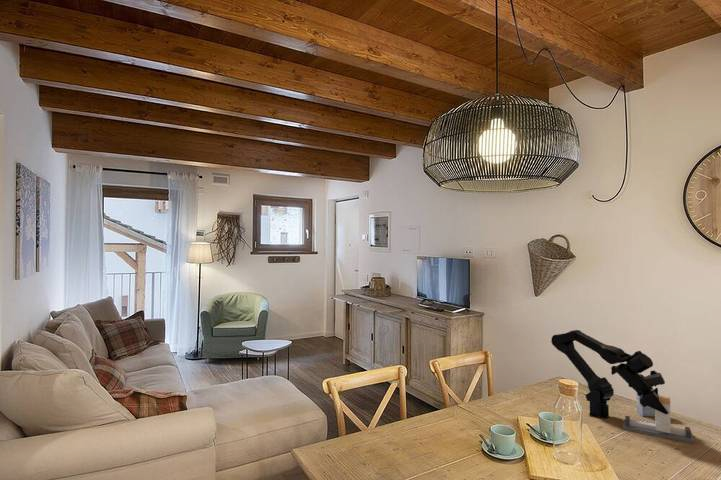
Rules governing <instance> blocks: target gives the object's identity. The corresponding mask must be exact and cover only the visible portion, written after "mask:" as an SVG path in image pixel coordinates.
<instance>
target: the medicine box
mask: <svg viewBox="0 0 721 480" xmlns="http://www.w3.org/2000/svg"><path fill="white" fill-rule="evenodd" d="M658 395H659V394H658ZM641 396H642V395H641ZM659 396H661V395H659ZM636 413H637V414H639V415H640V416H641V417H655V409H653V408H651V407H649V406H646V407H643V406H642V405H641V404H640V397H639V396H638V395H637V394H636Z"/></svg>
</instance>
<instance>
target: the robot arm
mask: <svg viewBox="0 0 721 480" xmlns="http://www.w3.org/2000/svg"><path fill="white" fill-rule="evenodd" d="M550 340H551V341H550V342H551V344H552V346H553V347H554V348H555V349H556V350H558V351H559V352H561V353H563V354H564V355H565V356H566V357H567V358H568V360H569V361H570V362H571V364H572V365H573V367H575V369H577V371H578V372H579V374H580V375H581V376H582V377H583V379H584V380H585V382H586V383H587V387H588V390H589V392H588V393H586V395H585V398H586V401H587V402H589V414H588V416H590V417H595V418H600V419H604V420H607V419H608V417H609V416H610V412H609V409H610V407H609V406H610V405H609V404H608V401H610V400H611V398H612V397H613V396H614V394H615V393H614V391H615V390H614V388H613V385H612V383H610V382H609V381H608V379H607V378H606V377H605V376H604V377H600V376H598V375H597V374H596V373H595V371H594V370H593V369H592V368H591V366H590V365H589V364H588V363H587V361H586V360H585V359H584V358H583V357H582V355H581V354H580V353H579V352H578V350H577V349H576V347H575V343H574V341H575V342H577V343H579V344H581V345H583V347H586V348H587V349H590V350H591V351H593V352H595V353H597V355H599V357H601V359H602V360H604V361H605V362H607V363H608V364H610V365H612V366H611V367H610V370H611V372H610V373H611V374H610V375H612V376H614V375H615V374H618V376H619V377H621V378H622V379H623V380H624V381H625V382H626V383H627V384H628V387H629V388H632V389H633V391H635V392H636V396H637V395H638V396H639V397H640V404H641V405H642V406H643V407H646V406H649V407H651V408H653V409H655V410H658V411H660V412H662V413H664V414H666V415H667V414H668V411H667V410H666V409H665V407H664V406H663V405H662V404H661V402H660V401H659V389H658V388H659V387H657V386H662V385H665V384H666V382H665V379H664V377H663V375H662V373H661V372H657V371H656V370H650V373H649V374H648V375H646V376H645V375H643V374H641V373H643V372H645V371H647V370H649V369H651V368H653V366H654V363H653V360H652V359H651V357H649V356H648V355H647V354H645V353H643V352H642V351H641V350H637V351H636V352H634V353H633V354H629V353H627V352H625V350H623V349H622V348H620V347H617V346H615V345H609V344H605V343H603V342H602V341H599V340H597V339H596V338H594V337H591V336H590V335H587V334H586V333H584V332H582V331H581V330H580V329H573V330H570V331H568V332H564V333H558V334H553V335H552V336H551V339H550ZM616 364H617V365H616ZM653 387H655V388H653ZM641 395H642V396H641Z"/></svg>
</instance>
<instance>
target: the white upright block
mask: <svg viewBox="0 0 721 480" xmlns="http://www.w3.org/2000/svg"><path fill="white" fill-rule="evenodd" d="M659 401H660V402H661V404H662V405H663V406H664V407H665V409H666V410H667V411H668V414H667V415H666V414H664V413H662V412H660V411H658V410H655V416H654V419H655V421H654V422H655V423H654V424H656V430H657V431H662V432H667V433H671V427H672V425H671V399H670V396H663V395H660V396H659Z"/></svg>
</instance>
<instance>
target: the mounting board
mask: <svg viewBox="0 0 721 480" xmlns="http://www.w3.org/2000/svg"><path fill="white" fill-rule="evenodd" d="M622 430H626V431H630V432H635V433H640V434H645V435H650V436H655V437H660V438H664V439H665V438H666V439H670V440H675V441H679V442H684V443H689V444H695V438H694V434H693V432H692V430H691V427H689V426H685V427H684V429H683V428H677V427H672V426H671V433H667V432H662V431H657V430H656V424H655V423H651V422H647V421H640V420H636V419H631V417H630V415H625V417H624V418H623V421H622Z"/></svg>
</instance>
